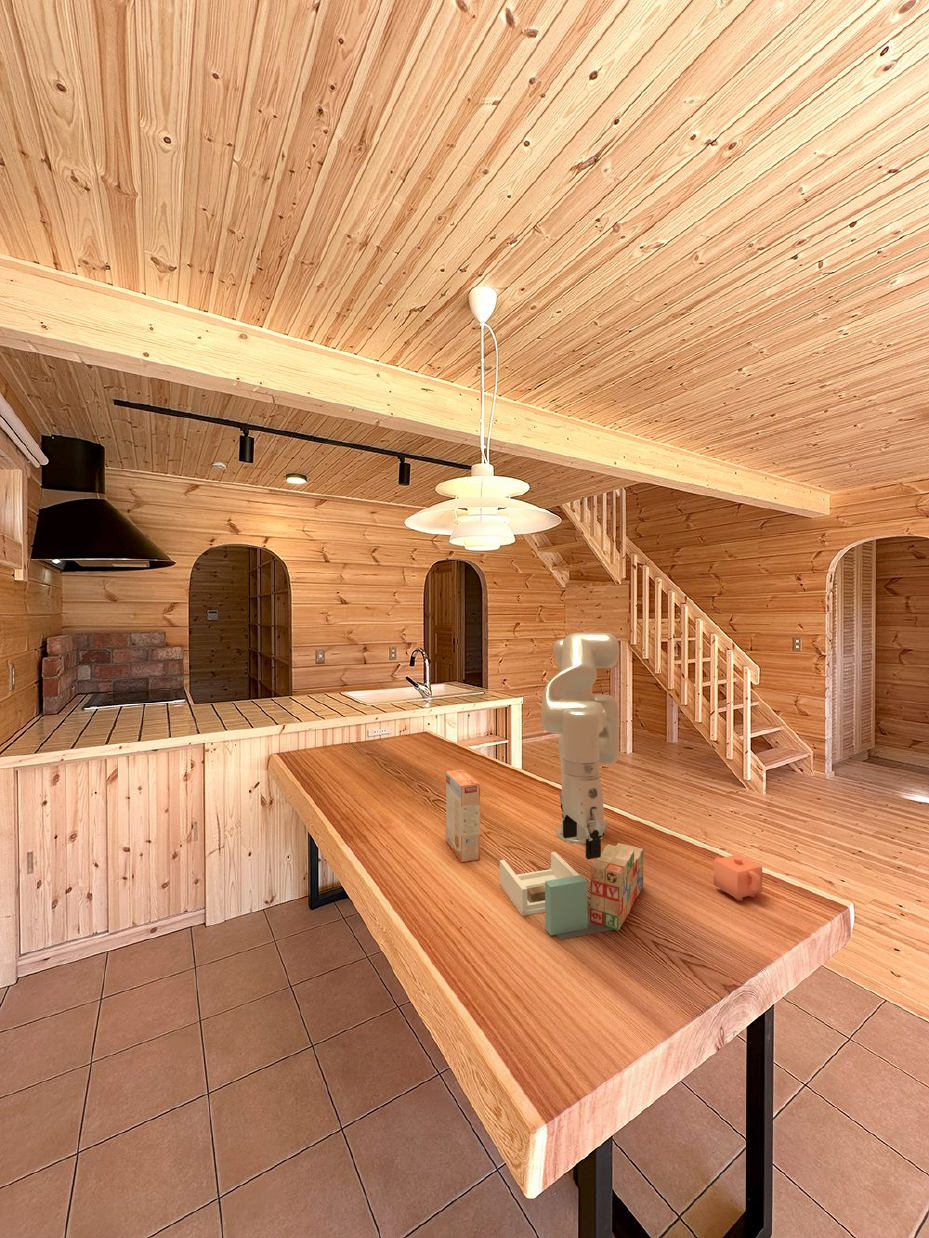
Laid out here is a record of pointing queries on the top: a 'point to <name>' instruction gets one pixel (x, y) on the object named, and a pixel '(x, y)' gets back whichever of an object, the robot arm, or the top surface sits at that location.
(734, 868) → the pink cube teapot
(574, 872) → the rack
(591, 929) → the charcoal mat
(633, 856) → the stack of blocks
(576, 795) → the robot arm
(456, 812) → the cracker box
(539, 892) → the walnut offcut
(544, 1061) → the top surface
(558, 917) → the teal panel
